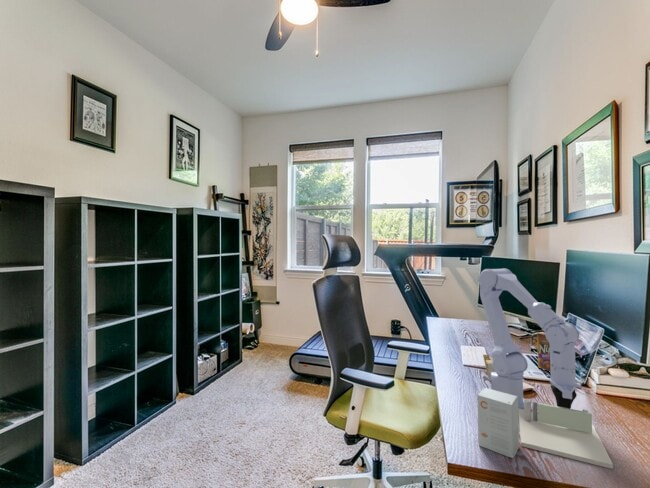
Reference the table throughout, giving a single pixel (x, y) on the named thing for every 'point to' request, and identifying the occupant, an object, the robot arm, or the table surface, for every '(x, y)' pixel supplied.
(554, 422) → the gate
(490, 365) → the model
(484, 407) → the small box
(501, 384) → the robot arm
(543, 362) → the candy box
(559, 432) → the gate frame
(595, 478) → the table surface
